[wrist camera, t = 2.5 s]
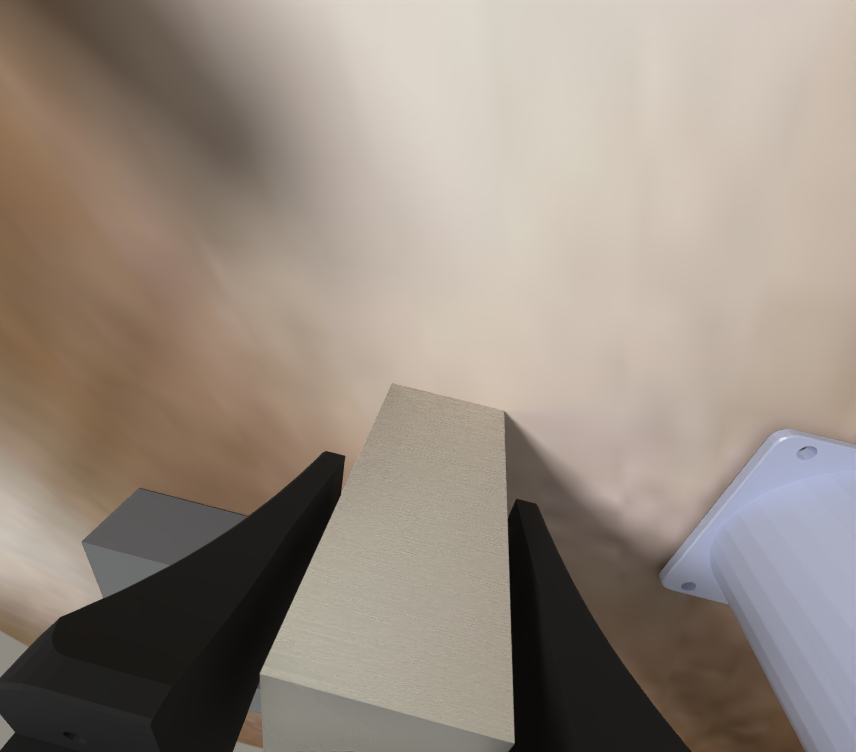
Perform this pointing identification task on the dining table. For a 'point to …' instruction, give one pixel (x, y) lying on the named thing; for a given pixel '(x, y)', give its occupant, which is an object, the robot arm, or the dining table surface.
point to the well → (153, 541)
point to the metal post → (404, 596)
